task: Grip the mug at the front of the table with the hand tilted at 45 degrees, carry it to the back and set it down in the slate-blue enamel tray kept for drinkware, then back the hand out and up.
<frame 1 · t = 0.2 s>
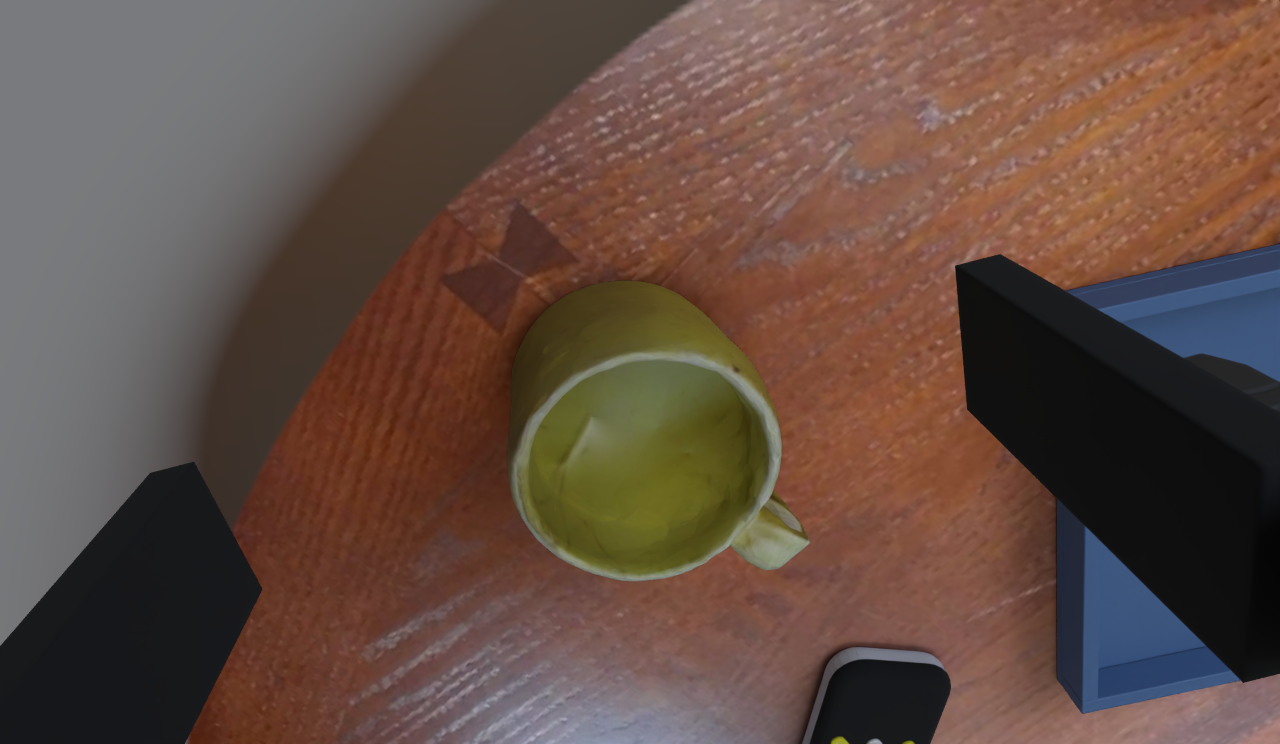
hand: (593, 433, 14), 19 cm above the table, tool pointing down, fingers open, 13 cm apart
mug: (654, 396, 36), on the table
remote control: (855, 735, 44), on the table
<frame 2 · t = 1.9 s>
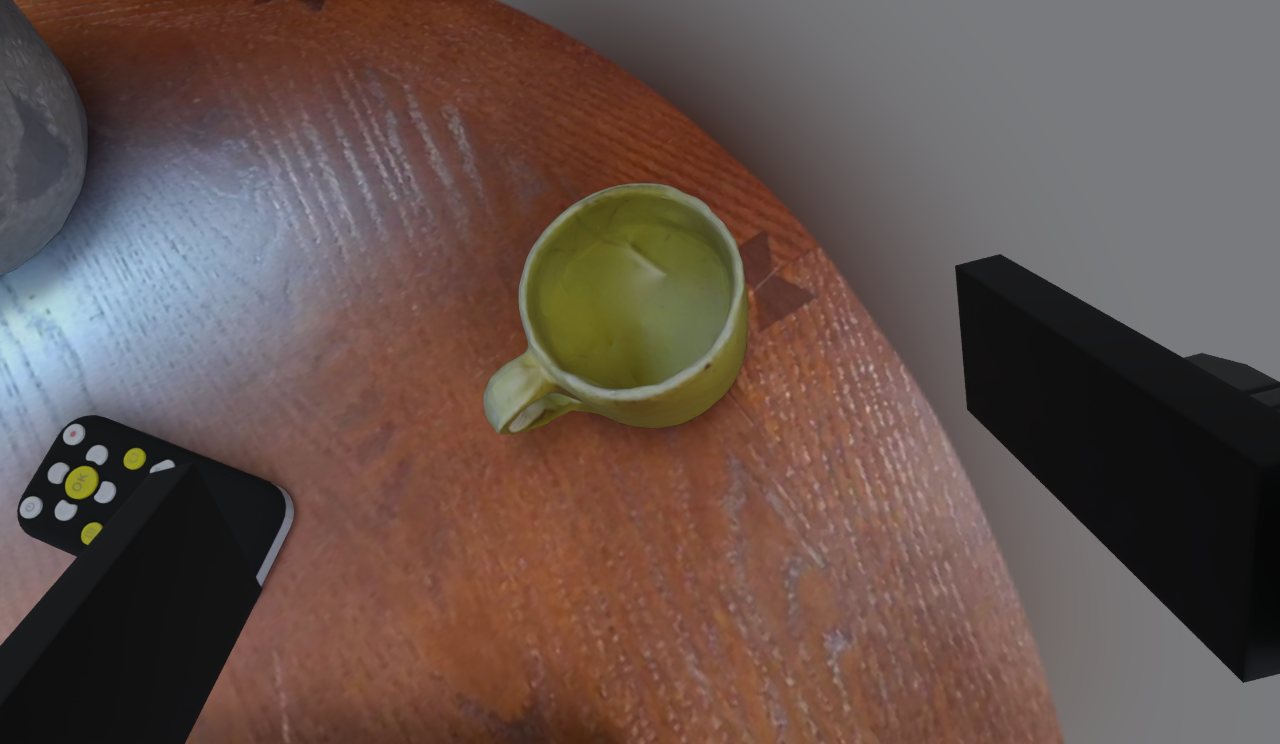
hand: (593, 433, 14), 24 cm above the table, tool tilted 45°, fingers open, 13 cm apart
mug: (625, 371, 40), on the table
cup: (20, 188, 48), on the table
remote control: (170, 515, 40), on the table
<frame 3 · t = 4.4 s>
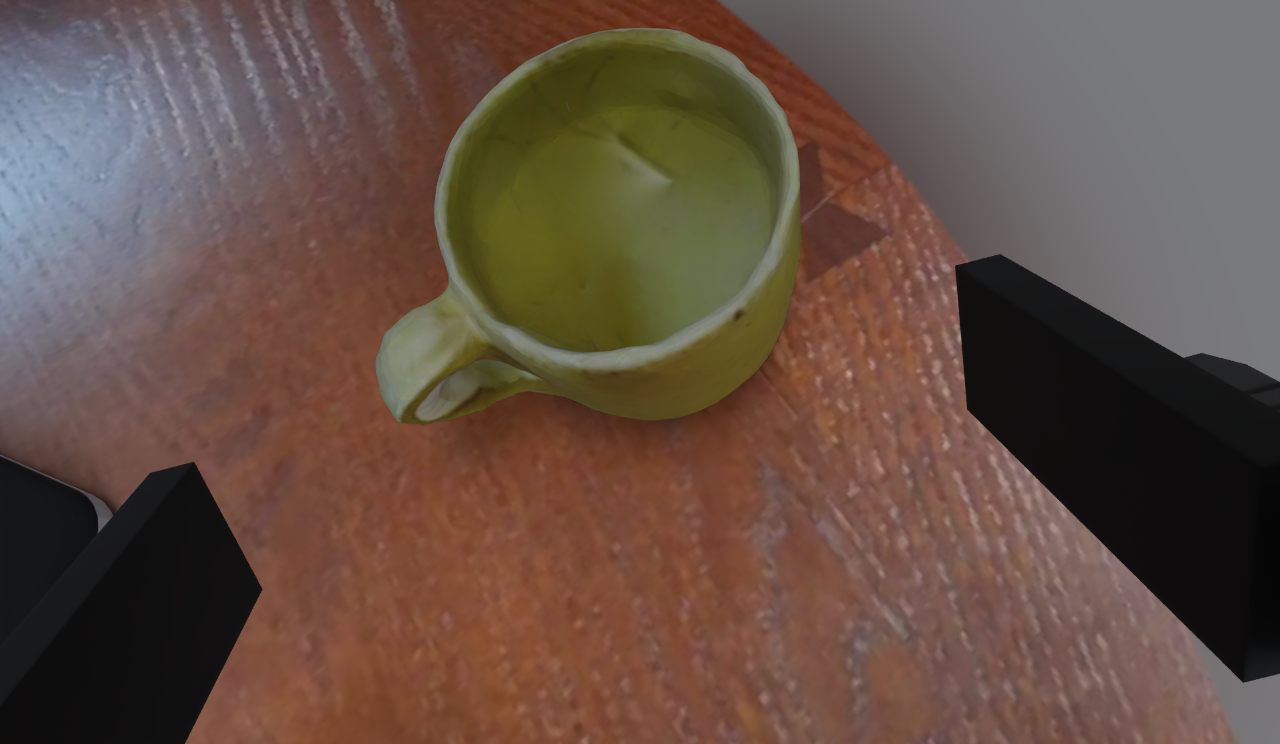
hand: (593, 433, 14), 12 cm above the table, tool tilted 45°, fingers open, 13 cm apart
mug: (609, 338, 28), on the table
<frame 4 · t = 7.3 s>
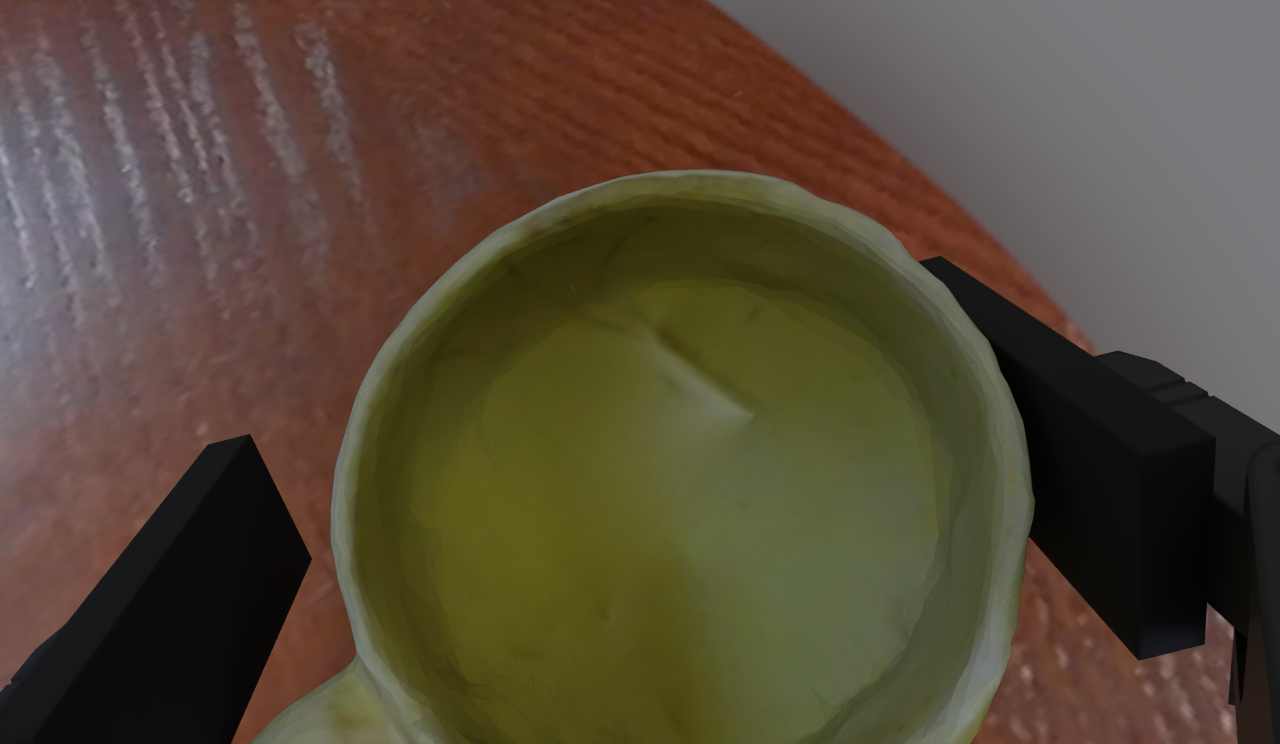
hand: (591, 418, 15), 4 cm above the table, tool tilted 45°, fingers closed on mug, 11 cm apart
mug: (637, 596, 18), on the table, touching gripper
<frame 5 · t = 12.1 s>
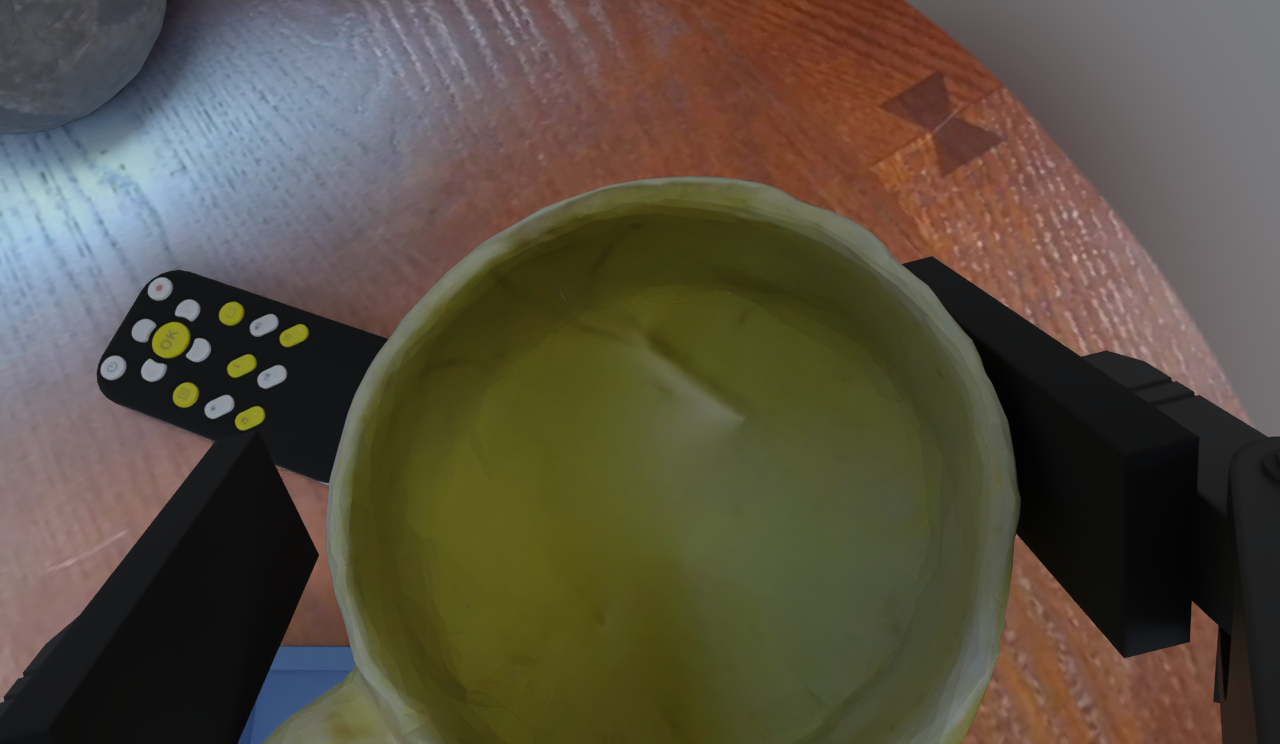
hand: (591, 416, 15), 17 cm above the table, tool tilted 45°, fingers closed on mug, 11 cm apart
mug: (637, 599, 18), point 13 cm above the table, touching gripper
cup: (87, 39, 43), on the table
remote control: (269, 382, 36), on the table
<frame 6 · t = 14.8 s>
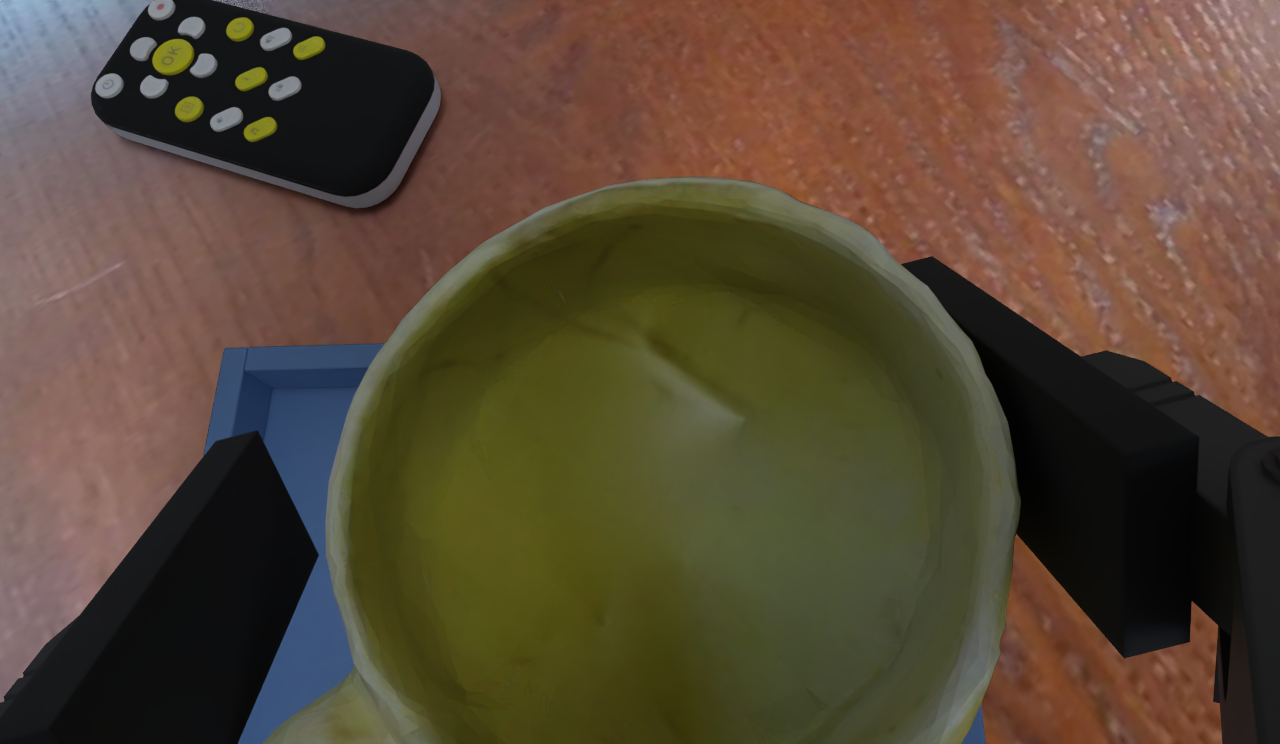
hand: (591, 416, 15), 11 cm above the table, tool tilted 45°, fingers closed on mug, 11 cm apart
blue tray: (564, 725, 24), on the table
mug: (636, 600, 18), point 7 cm above the table, touching gripper
remote control: (280, 115, 32), on the table
when the fingers open (5 cm above the table, at t = 17.1 s): mug stays where it is, resting on blue tray.
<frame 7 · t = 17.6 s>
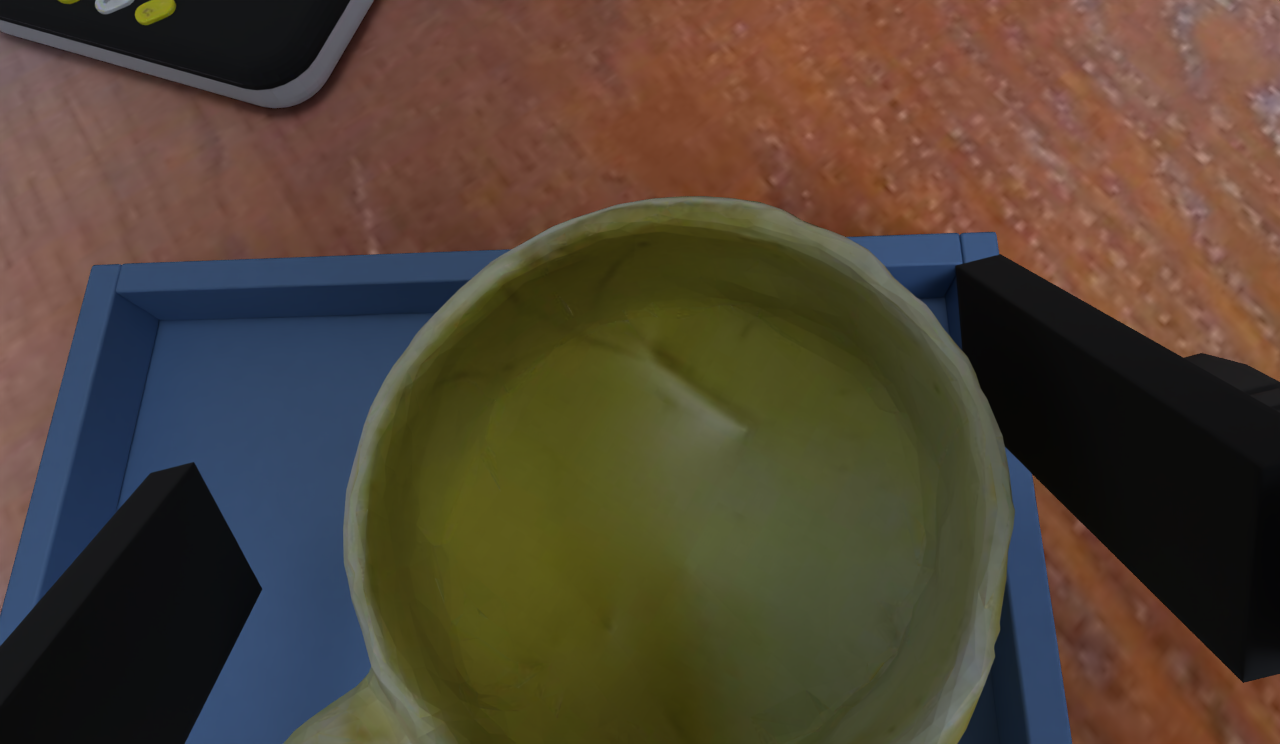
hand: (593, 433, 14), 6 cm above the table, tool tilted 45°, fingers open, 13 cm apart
blue tray: (514, 742, 18), on the table
mug: (638, 604, 19), resting on blue tray
remote control: (190, 5, 27), on the table
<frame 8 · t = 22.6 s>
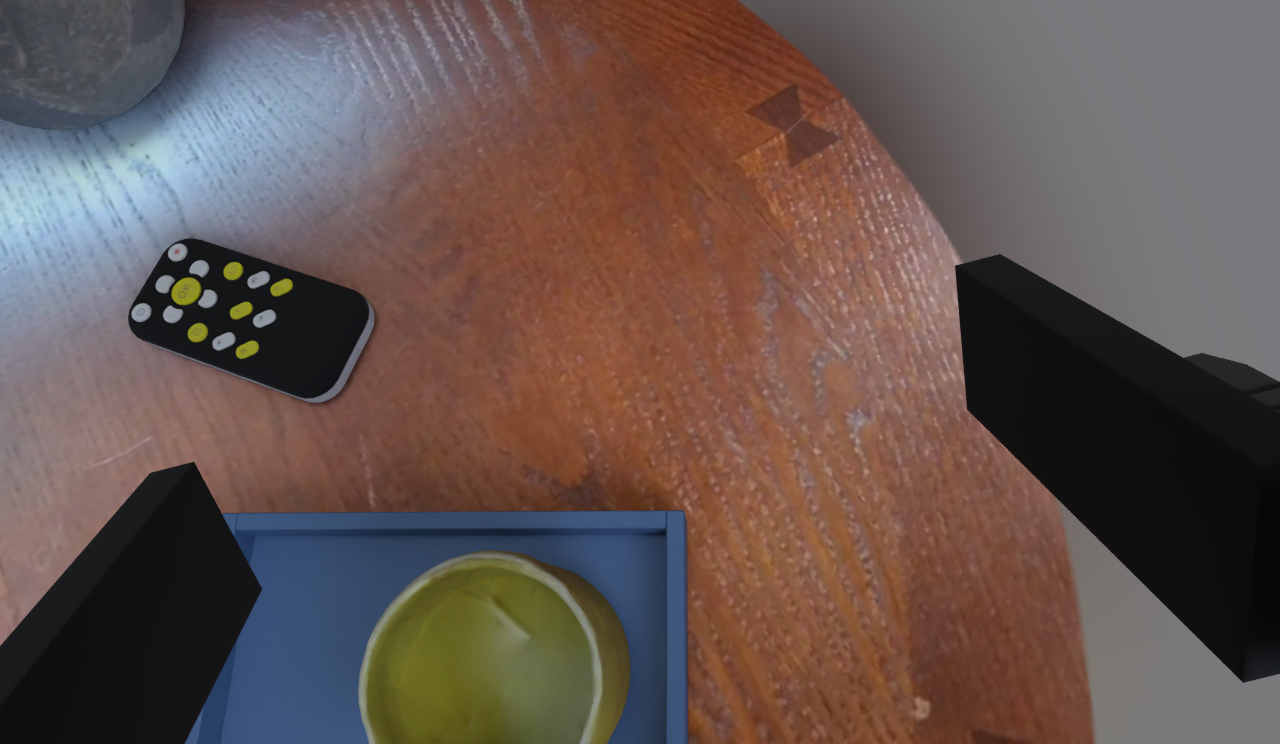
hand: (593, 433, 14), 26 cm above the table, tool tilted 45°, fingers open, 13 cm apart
mug: (503, 698, 37), resting on blue tray
cup: (118, 53, 53), on the table
remote control: (262, 326, 45), on the table
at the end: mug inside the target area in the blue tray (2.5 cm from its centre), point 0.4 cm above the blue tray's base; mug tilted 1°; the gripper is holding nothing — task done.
